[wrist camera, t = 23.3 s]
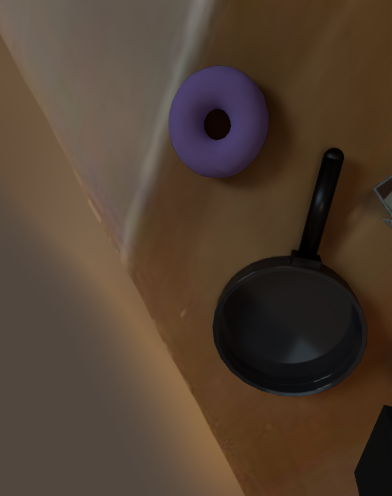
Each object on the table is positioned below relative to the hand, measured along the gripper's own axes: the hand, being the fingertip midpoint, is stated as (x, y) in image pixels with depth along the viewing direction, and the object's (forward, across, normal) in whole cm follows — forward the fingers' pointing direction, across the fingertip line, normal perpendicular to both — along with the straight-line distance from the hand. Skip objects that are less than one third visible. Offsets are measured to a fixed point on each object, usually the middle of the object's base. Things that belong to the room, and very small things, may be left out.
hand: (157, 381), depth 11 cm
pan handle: (+27, +8, +1) cm, 28 cm away
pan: (+28, +8, -13) cm, 32 cm away
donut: (+29, -3, +7) cm, 30 cm away
